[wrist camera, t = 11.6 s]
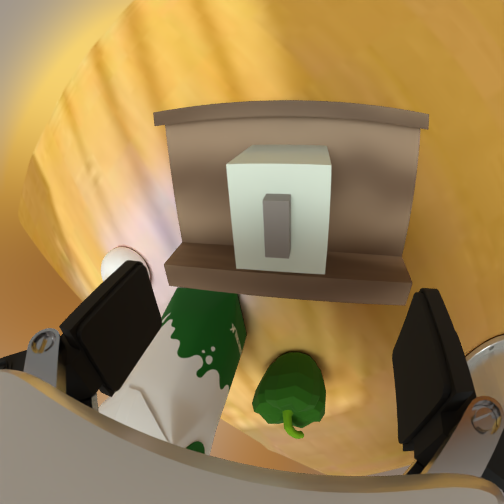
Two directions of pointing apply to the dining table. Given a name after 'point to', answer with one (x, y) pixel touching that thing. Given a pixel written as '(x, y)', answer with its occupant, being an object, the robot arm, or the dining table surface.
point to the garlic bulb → (118, 260)
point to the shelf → (341, 199)
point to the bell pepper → (291, 393)
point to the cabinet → (280, 207)
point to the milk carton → (184, 371)
